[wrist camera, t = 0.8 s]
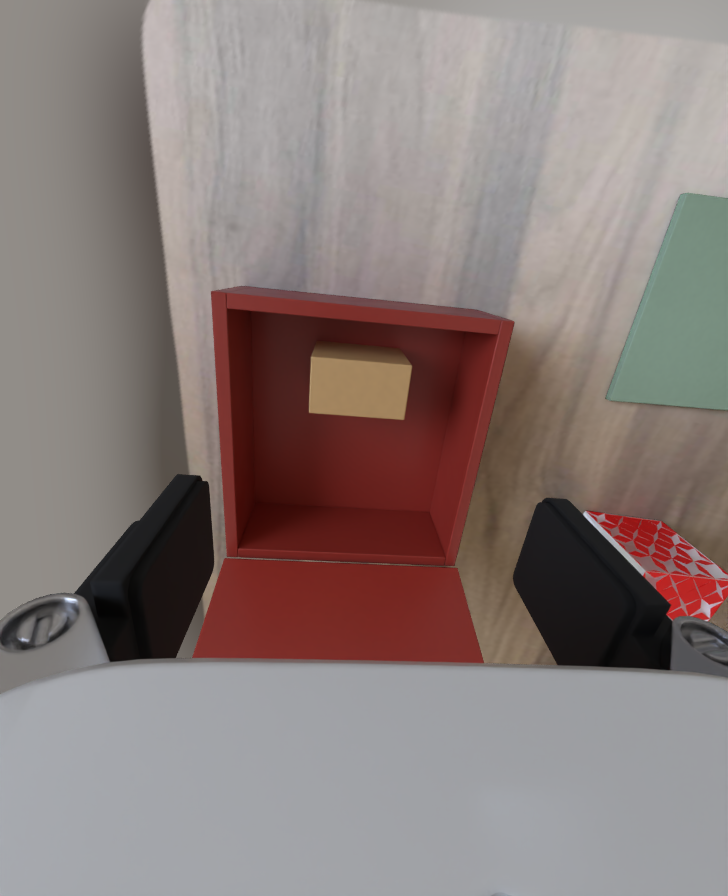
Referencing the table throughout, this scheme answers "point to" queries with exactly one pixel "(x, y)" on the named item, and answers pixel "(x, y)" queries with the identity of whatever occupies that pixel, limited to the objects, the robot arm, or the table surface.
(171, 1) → the table surface
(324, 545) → the red open box
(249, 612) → the lid
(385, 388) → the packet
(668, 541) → the puzzle cube
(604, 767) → the robot arm
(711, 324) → the plate
